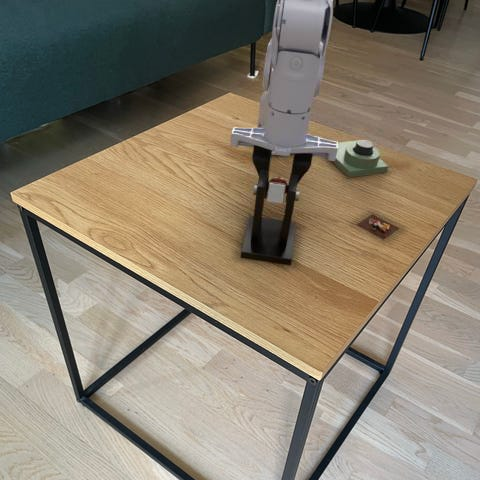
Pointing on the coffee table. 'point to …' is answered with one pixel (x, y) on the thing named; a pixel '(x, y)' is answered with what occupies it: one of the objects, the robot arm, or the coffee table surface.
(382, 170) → the control block
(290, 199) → the bracket
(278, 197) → the lever
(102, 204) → the coffee table surface
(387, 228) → the diorama
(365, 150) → the button
